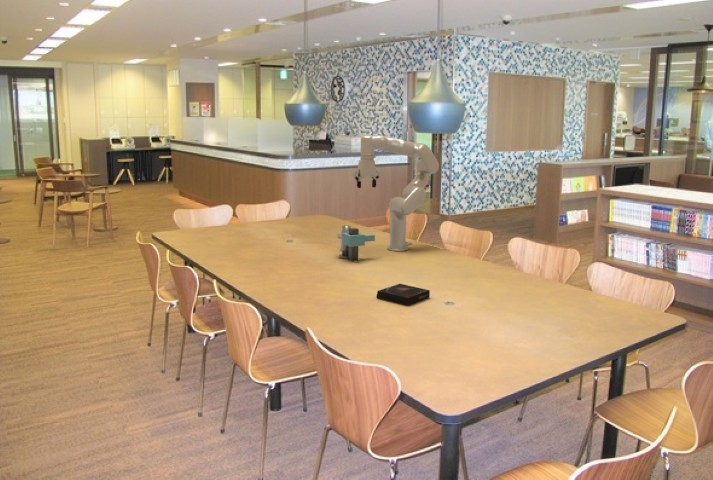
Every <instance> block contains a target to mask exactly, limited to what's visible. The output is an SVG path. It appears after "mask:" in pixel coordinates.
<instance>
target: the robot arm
mask: <svg viewBox="0 0 713 480" xmlns="http://www.w3.org/2000/svg"><path fill="white" fill-rule="evenodd" d="M375 149H376V150H380V151H384V152H385V151H386V152H390V153H393V154H396V155H397V154H398V155H402V156H406V157H411V158H415V159H416V158H417V159H418V161H417V162H416V165H415V168H416V174H415V177H414V178H413V179H412V180H411V181H410V182H409V183H408V185H406V186H405V187H404V188H403V190H402V197H401V196H395V197H393V198H391V199H390V201H389V205H388V209H389V214H390V217H389V218H390V220H389V221H390V222H389V224H390V225H389V245H388V246H387V247H386V249H387V250H388V251H393V252H405V250H406V251H408V249H409V247H408V246H413V242H412V241H411V242H410V241H407V240H406V239H407V237H406V236H407V235H406V233H407V216H409V215H411V214H412V213H414V211H416V209H417V208H419V206H420V205H421V204H422V203H423V202H424V201H425V200H426V196H427V191H426V189H425V187H426V186H427V185H428V184H429V178H430V177H429V175H434V174H436V173H437V172H438V171H439V168H440V165H439V164H440V163H439V161H438V160H437V158H436V156H435V155H434V153H433V151H432V150H431V148H430V146H428V144H425V143H418V142H414V141H410V140H404V139H402V138H401V139H400V138H388V137H387V136H384V135H378V134H373V135H362V136H361V137H360V159H359V160H358V164H357V171H355V172H353V173H352V175H353V177H354V179H355V181H356V187H357V188H358V189H362V181H361V180H362V179H365V178H371V179H372V180H371V187H372V188H376V187H377V180H378V179H379V178H380V176H381V172H380V171H378V170H377V169H376V168H377V167H376V161H375V158H376V157H377V156H376V155H375V154H374V153H375V152H374V150H375Z"/></svg>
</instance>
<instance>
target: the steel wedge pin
mask: <svg viewBox="0 0 713 480" xmlns="http://www.w3.org/2000/svg"><path fill="white" fill-rule="evenodd" d="M359 233H360V231H359V228H357V227H351V228H349V235H359ZM348 261H350V262H358V261H359V246H354V247H349V259H348Z"/></svg>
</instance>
